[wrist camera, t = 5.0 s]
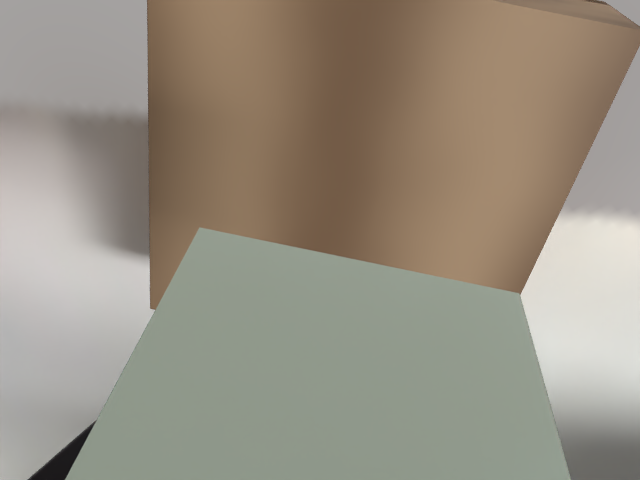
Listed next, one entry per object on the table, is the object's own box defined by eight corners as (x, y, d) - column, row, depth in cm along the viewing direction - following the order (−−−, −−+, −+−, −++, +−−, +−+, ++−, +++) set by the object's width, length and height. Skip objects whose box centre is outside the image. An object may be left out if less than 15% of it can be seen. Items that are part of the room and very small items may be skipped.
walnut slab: (604, 1, 15) (646, 31, 12) (471, 313, 21) (482, 374, 19) (188, -82, 15) (146, -69, 12) (179, 255, 21) (150, 308, 19)
